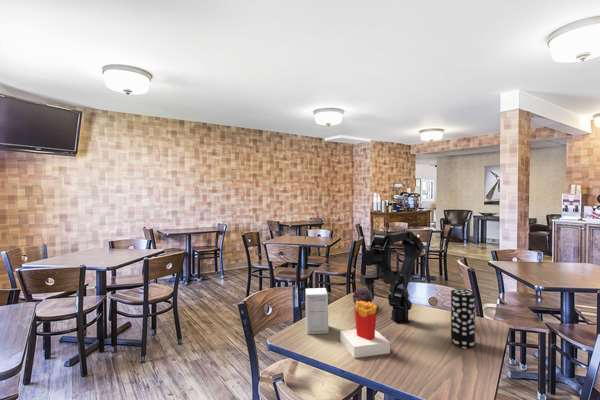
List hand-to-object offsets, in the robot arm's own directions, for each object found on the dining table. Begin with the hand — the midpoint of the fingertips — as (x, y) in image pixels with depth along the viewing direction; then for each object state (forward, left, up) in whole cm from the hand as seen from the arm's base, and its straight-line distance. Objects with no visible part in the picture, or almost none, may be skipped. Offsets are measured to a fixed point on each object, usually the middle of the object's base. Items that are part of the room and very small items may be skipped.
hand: (382, 298), depth 143 cm
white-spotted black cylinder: (-23, +21, -13) cm, 34 cm away
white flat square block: (+15, +14, -13) cm, 24 cm away
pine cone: (-2, -25, -13) cm, 29 cm away
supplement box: (+28, -6, -13) cm, 32 cm away
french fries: (+14, +14, -9) cm, 22 cm away
